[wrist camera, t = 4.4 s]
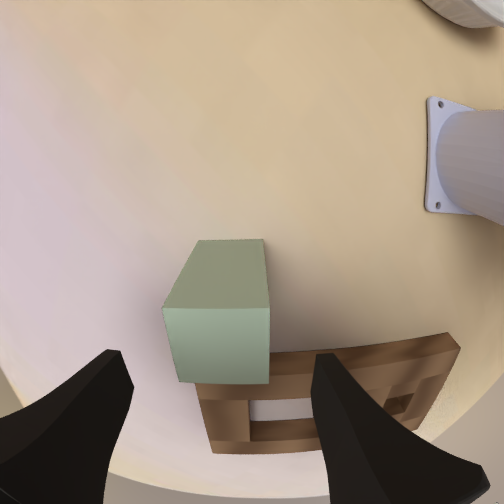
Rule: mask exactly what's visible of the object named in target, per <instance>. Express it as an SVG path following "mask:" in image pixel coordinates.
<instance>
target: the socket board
mask: <svg viewBox="0 0 504 504" xmlns="http://www.w3.org/2000/svg"><path fill="white" fill-rule="evenodd" d="M460 349H461V347H460V346H459V345H458V344H457V342H456V341H455V340H454V339H453V338H452V337H451V335H450V334H449V333H448V332H447V333H442V334H437V335H432V336H427V337H421V338H415V339H410V340H403V341H397V342H390V343H383V344H376V345H368V346H360V347H351V348H341V349H330V350H317V351H302V352H282V353H269V384H205V383H195V386H196V390H197V395H198V399H199V403H200V407H201V411H202V415H203V419H204V423H205V427H206V431H207V434H208V438H209V442H210V445H211V449H212V452H213V453H217V454H279V453H295V452H306V451H315V450H322V448H321V444H320V440H319V436H318V432H317V428H316V424H315V420H314V418H309V419H297V420H282V421H250V408H249V400H279V399H296V398H309V397H311V393H310V391H311V385H312V379H313V372H314V366H315V359H316V354H324V353H334V354H335V355H336V356H337V358H338V359H339V360H340V362H341V363H342V364H343V365H344V367H345V368H346V369H347V370H348V371H349V373H350V374H351V375H352V376H353V377H354V379H355V380H356V381H357V382H358V383H359V384H360V385H361V386H362V388H363V389H364V390H365V391H366V392H367V393H368V394H369V395H370V396H371V397H372V398H373V399H374V400H375V401H376V402H377V403H378V404H379V405H380V406H381V407H382V408H383V409H384V410H385V411H386V412H387V413H389V414H390V415H391V416H392V417H393V418H394V419H396V420H397V421H398V422H399V423H401V424H402V425H403V426H404V427H406V428H407V429H409V430H410V431H413V430H416V429H418V427H419V426H420V424H421V423H422V421H423V419H424V418H425V416H426V415H427V413H428V411H429V410H430V408H431V406H432V405H433V403H434V401H435V399H436V398H437V396H438V394H439V392H440V390H441V388H442V387H443V385H444V383H445V381H446V379H447V377H448V375H449V373H450V371H451V369H452V367H453V365H454V362H455V360H456V358H457V356H458V354H459V351H460Z"/></svg>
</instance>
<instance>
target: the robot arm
mask: <svg viewBox="0 0 504 504" xmlns="http://www.w3.org/2000/svg"><path fill="white" fill-rule="evenodd" d="M438 102H439V103H440V105H441V107H439V105H438ZM427 110H428V166H427V184H426V196H425V208H426V209H427V210H428V211H430V212H438V213H454V214H468V215H480V216H482V217H484V218H487V219H489V220H491V221H493V222H495V223H498V224H500V225H502V226H504V110H479V111H478V110H475V109H472V108H470V107H467V106H464V105H461V104H458V103H455V102H452V101H449V100H446V99H442V98H439V97H436V96H431V97H429V98H428V99H427ZM437 202H438V206H437V207H436V203H437ZM133 391H134V385H133V383H132V381H131V378H130V376H129V373H128V370H127V368H126V365H125V362H124V360H123V357H122V354H121V351H118V350H110V349H107V350H105V351H104V352H102V353H101V354H100V355H98V356H97V357H96V358H94V359H93V360H92V361H91V362H89V363H88V364H87V365H86V366H84V367H83V368H82V369H81V370H79V371H78V372H77V373H76V374H74V375H73V376H72V377H71V378H69V379H68V380H67V381H65V382H64V383H63V384H61V385H60V386H58V387H57V388H56V389H54V390H53V391H52V392H50V393H49V394H47V395H46V396H44V397H43V398H41V399H39V400H38V401H36V402H34V403H32V404H31V405H29V406H27V407H25V408H23V409H21V410H19V411H17V412H14V413H12V414H10V415H7V416H5V417H3V418H0V504H103V498H104V490H105V483H106V477H107V472H108V468H109V463H110V459H111V456H112V453H113V450H114V447H115V444H116V442H117V439H118V437H119V434H120V431H121V429H122V426H123V424H124V421H125V418H126V416H127V413H128V411H129V407H130V404H131V400H132V395H133ZM310 393H311V401H312V409H313V416H314V420H315V424H316V428H317V432H318V436H319V440H320V444H321V448H322V452H323V456H324V460H325V464H326V469H327V475H328V484H329V493H330V502H331V504H470V503H472V502H473V501H475V500H476V499H477V498H479V497H480V496H481V495H483V494H484V493H485V492H486V491H487V490H488V489H489V488H490V483H489V481H488V479H487V476H486V474H485V472H484V470H483V468H482V467H481V465H478V464H475V463H472V462H470V461H467V460H464V459H461V458H458V457H456V456H454V455H452V454H449V453H447V452H445V451H443V450H441V449H439V448H437V447H435V446H434V445H432V444H430V443H429V442H427V441H425V440H424V439H422V438H420V437H419V436H417V435H416V434H414V433H413V432H411V431H410V430H409V429H407V428H406V427H404V426H403V425H402V424H401V423H399V422H398V421H397V420H396V419H394V418H393V417H392V416H391V415H390V414H389V413H387V412H386V411H385V410H384V409H383V408H382V407H381V406H380V405H379V404H378V403H377V402H376V401H375V400H374V399H373V398H372V397H371V396H370V395H369V394H368V393H367V392H366V391H365V390H364V389H363V388H362V386H361V385H360V384H359V383H358V382H357V381H356V380H355V379H354V377H353V376H352V375H351V374H350V373H349V371H348V370H347V369H346V368H345V367H344V365H343V364H342V363H341V362H340V360H339V359H338V358H337V356H336V355H335V354H334V353H324V354H316V359H315V366H314V372H313V379H312V385H311V391H310ZM495 504H499V503H498V502H496V503H495Z"/></svg>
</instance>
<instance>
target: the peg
mask: <svg viewBox="0 0 504 504" xmlns="http://www.w3.org/2000/svg"><path fill="white" fill-rule="evenodd" d="M162 311H163V316H164V321H165V325H166V330H167V335H168V339H169V343H170V348H171V352H172V356H173V360H174V364H175V368H176V372H177V376H178V379H179V382H187V383H205V384H269V346H270V303H269V293H268V284H267V274H266V264H265V255H264V245H263V239H244V240H202V241H198V242H197V244H196V246H195V248H194V249H193V251H192V253H191V255H190V257H189V258H188V260H187V262H186V264H185V266H184V268H183V269H182V271H181V273H180V275H179V277H178V279H177V280H176V282H175V284H174V286H173V288H172V290H171V292H170V294H169V295H168V297H167V299H166V301H165V303H164V305H163V307H162Z"/></svg>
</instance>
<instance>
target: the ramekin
mask: <svg viewBox="0 0 504 504" xmlns="http://www.w3.org/2000/svg"><path fill="white" fill-rule="evenodd" d="M422 1H423V2H424V3H425V4H426V5H428V6H429V7H430V8H431V9H433V10H434V11H435V12H437V13H438V14H440V15H441V16H443V17H444V18H446V19H448V20H450V21H452V22H454V23H456V24H458V25H461V26H464V27H468V28H484V27H496V26H500V27H503V28H504V0H422Z"/></svg>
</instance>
